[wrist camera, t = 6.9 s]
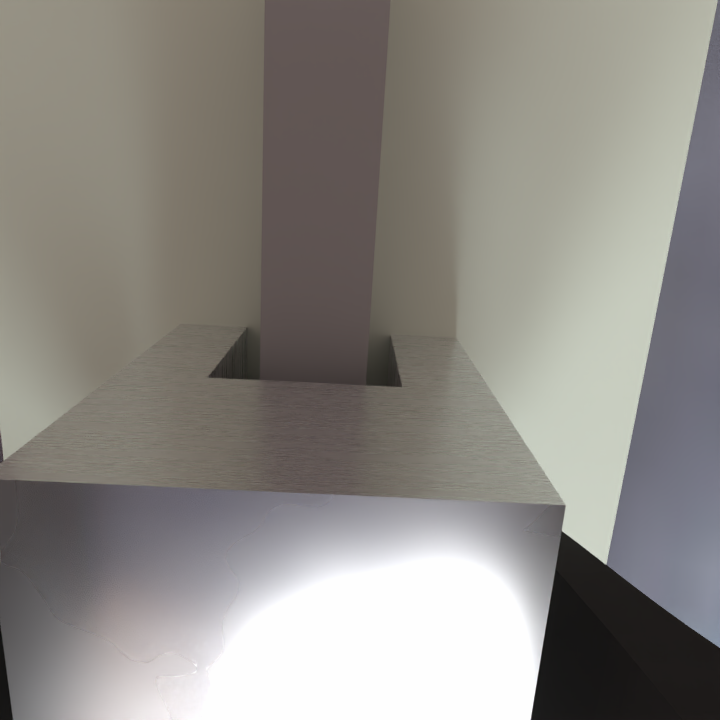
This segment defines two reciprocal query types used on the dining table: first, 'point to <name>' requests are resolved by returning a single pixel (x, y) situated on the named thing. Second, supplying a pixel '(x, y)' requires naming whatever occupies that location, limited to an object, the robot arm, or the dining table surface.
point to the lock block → (277, 545)
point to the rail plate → (458, 203)
